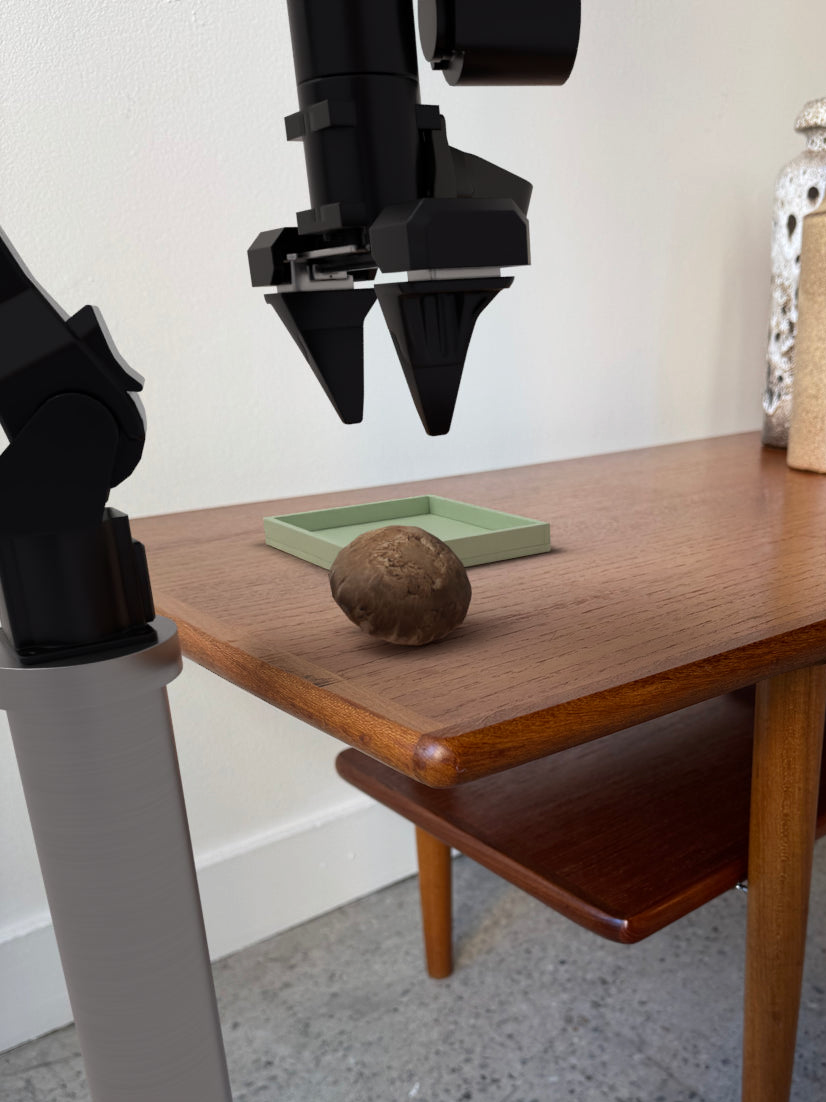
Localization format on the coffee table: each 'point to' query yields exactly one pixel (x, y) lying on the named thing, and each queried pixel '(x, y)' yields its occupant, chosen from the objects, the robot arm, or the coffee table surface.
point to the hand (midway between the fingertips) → (392, 429)
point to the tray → (453, 522)
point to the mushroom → (401, 585)
